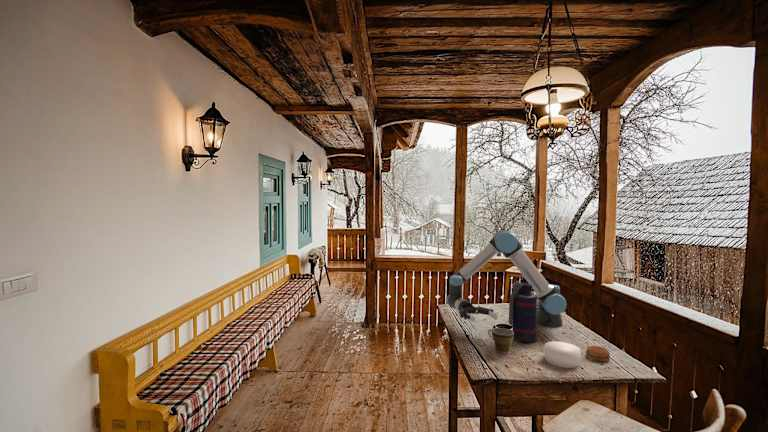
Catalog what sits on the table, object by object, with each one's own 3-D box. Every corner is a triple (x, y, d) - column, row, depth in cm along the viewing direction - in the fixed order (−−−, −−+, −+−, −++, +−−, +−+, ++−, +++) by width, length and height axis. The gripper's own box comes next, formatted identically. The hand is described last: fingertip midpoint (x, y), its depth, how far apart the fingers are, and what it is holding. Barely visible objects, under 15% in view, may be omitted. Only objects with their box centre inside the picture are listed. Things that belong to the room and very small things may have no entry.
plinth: (562, 351, 180) (562, 339, 180) (588, 364, 166) (588, 351, 165) (537, 356, 175) (537, 343, 175) (562, 370, 161) (562, 356, 161)
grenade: (530, 335, 202) (530, 280, 201) (540, 343, 190) (541, 285, 189) (505, 335, 201) (505, 281, 200) (514, 344, 190) (514, 286, 188)
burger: (614, 362, 168) (614, 352, 168) (593, 362, 168) (593, 352, 168) (602, 353, 178) (602, 344, 178) (582, 353, 178) (582, 344, 178)
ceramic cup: (517, 351, 181) (517, 331, 181) (508, 357, 174) (508, 336, 173) (492, 344, 190) (492, 325, 189) (483, 350, 183) (483, 330, 182)
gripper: (482, 311, 216) (505, 322, 196) (444, 315, 208) (464, 328, 188) (483, 298, 216) (505, 309, 196) (444, 302, 208) (464, 313, 188)
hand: (485, 318), depth 192 cm, fingers open, 13 cm apart
